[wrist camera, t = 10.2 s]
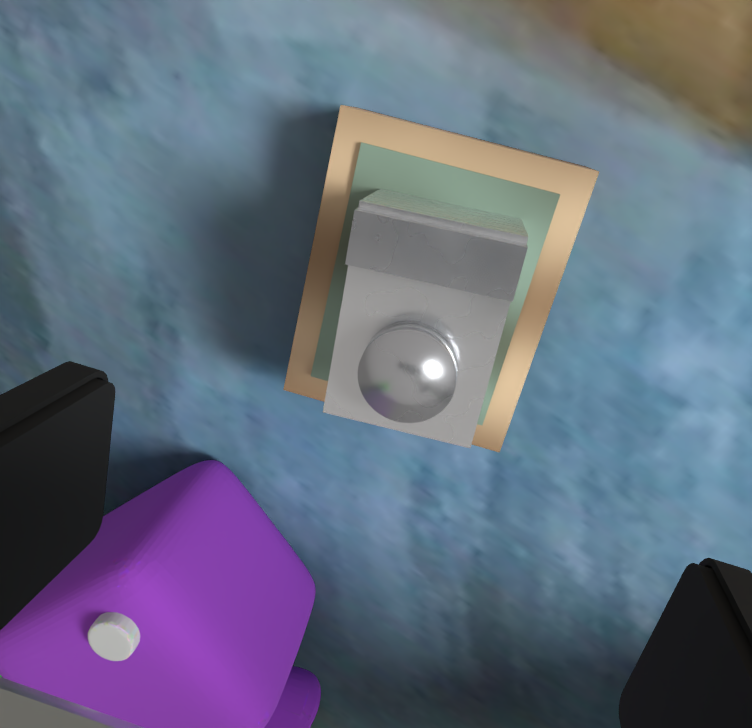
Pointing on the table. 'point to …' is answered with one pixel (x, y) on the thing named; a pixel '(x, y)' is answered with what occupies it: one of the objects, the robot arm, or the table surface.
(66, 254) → the table surface
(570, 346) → the table surface
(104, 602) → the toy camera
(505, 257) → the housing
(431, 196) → the picture frame
